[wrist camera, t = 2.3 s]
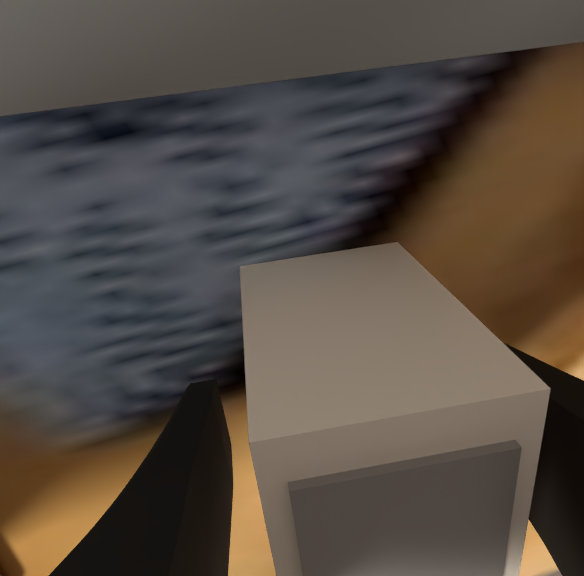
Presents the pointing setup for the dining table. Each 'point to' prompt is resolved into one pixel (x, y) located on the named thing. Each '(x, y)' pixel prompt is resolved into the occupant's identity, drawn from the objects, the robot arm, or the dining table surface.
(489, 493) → the module block
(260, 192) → the dining table surface
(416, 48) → the mounting board
